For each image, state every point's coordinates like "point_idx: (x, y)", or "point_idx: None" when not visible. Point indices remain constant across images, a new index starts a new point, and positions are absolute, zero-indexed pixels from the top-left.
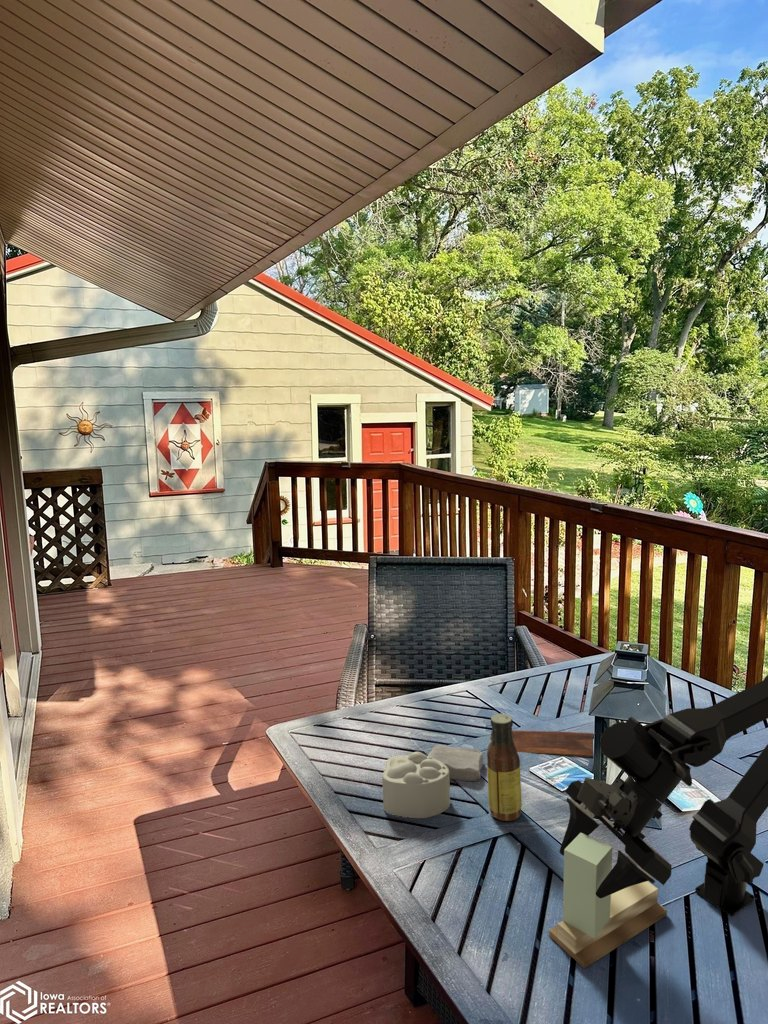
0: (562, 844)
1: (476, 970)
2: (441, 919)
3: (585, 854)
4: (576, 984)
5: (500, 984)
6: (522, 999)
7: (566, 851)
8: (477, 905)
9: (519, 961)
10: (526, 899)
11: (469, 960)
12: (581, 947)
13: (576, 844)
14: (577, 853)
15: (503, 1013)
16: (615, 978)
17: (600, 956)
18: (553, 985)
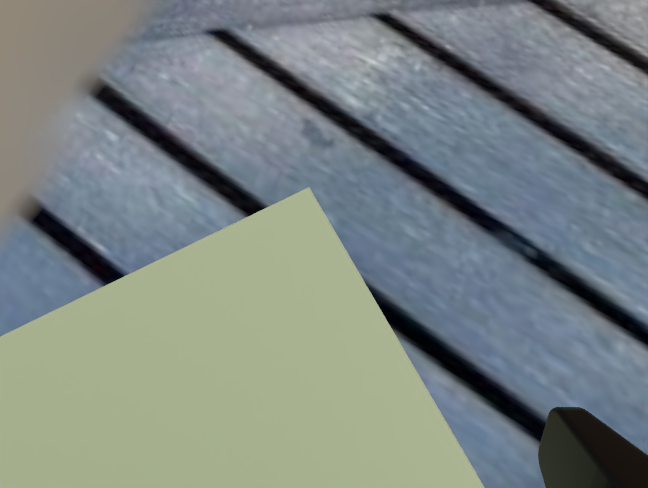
0: (635, 456)
1: (301, 34)
2: (533, 22)
3: (20, 478)
4: None
5: (224, 74)
6: (144, 107)
7: (274, 216)
8: (568, 153)
9: (280, 169)
10: (555, 346)
11: (345, 32)
12: None
13: (355, 485)
14: (126, 345)
15: (129, 37)
16: None
17: None
18: (142, 224)
